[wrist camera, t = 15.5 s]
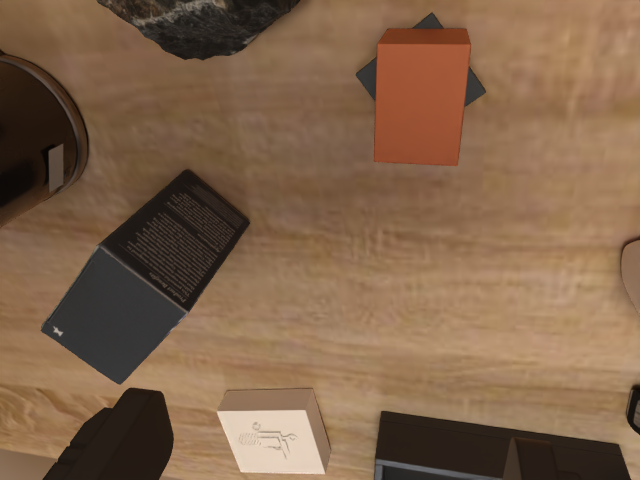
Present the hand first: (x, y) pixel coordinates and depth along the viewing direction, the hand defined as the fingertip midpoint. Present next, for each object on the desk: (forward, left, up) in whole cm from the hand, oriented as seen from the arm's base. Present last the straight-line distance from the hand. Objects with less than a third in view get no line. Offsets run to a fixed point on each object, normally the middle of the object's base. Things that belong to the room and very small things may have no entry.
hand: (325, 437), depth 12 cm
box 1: (-3, -15, -22) cm, 27 cm away
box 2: (+7, -21, -22) cm, 31 cm away
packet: (-2, +3, -21) cm, 21 cm away
